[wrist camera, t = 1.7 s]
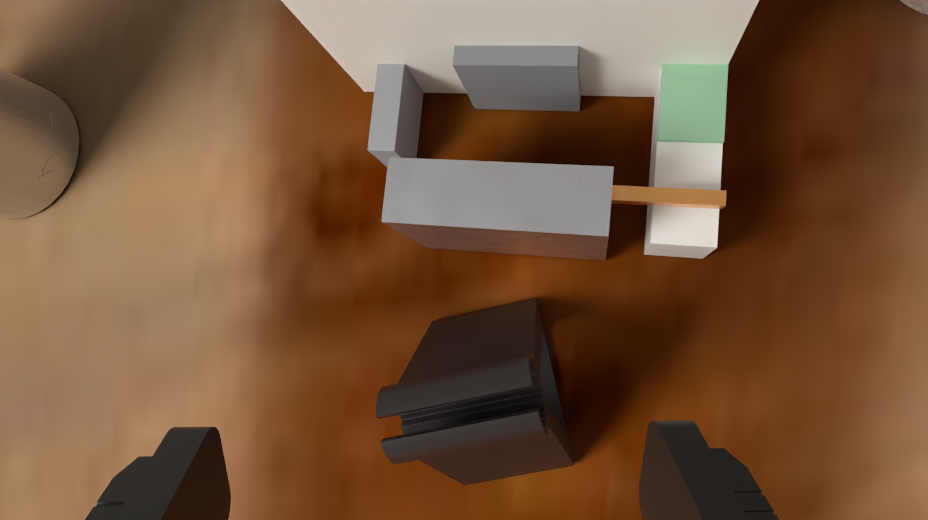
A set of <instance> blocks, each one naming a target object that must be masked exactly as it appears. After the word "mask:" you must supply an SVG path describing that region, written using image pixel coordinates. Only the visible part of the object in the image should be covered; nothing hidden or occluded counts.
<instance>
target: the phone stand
mask: <svg viewBox="0 0 928 520" xmlns="http://www.w3.org/2000/svg"><path fill="white" fill-rule="evenodd" d="M395 415H399V416H400V418H401V419H402V424H401V428H402V431H403V434H404V435H399V436H394V437H389V438H384V439H382V441H381V444H382V447H383V449H384V452H385V454H386V456H387V457H388V459H389V460H390V461H391V462H392V463H393V464H399V463H404V462H409V461H415V460H420V461H422V462H424V463H426V464H428V465H429V466H431V467H433V468H435V469H437V470H438V471H440V472H442V473H444V474H446V475H447V476H449V477H451V478H453V479H455V480H457V481H458V482H460V483H462V484H464V485H468V484H473V483H479V482H484V481H490V480H495V479H501V478H507V477H512V476H518V475H523V474H529V473H534V472H540V471H545V470H551V469H557V468H562V467H568V466H573V465H574V460H573V455H572V451H571V447H570V442H569V438H568V433H567V429H566V425H565V420H564V416H563V412H562V407H561V403H560V398H559V394H558V390H557V385H556V382H555V377H554V372H553V368H552V363H551V359H550V355H549V350H548V346H547V342H546V337H545V333H544V328H543V324H542V320H541V315H540V311H539V307H538V302H537V299H536V298H533V299H529V300H524V301H520V302H515V303H511V304H506V305H502V306H498V307H493V308H489V309H484V310H480V311H476V312H471V313H467V314H462V315H458V316H454V317H449V318H445V319H440V320H436V321H432V323H431V324H430V326H429V328H428V330H427V332H426V333H425V335H424V337H423V339H422V341H421V342H420V344H419V346H418V348H417V350H416V352H415V353H414V355H413V357H412V359H411V361H410V362H409V364H408V366H407V368H406V370H405V371H404V373H403V375H402V377H401V379H400V381H399V382H398V384H395V385H390V386H385V387H382V388H381V389H380V391H379V393H378V397H377V403H376V417H377V418H379V419H380V418H385V417H390V416H395Z"/></svg>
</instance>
